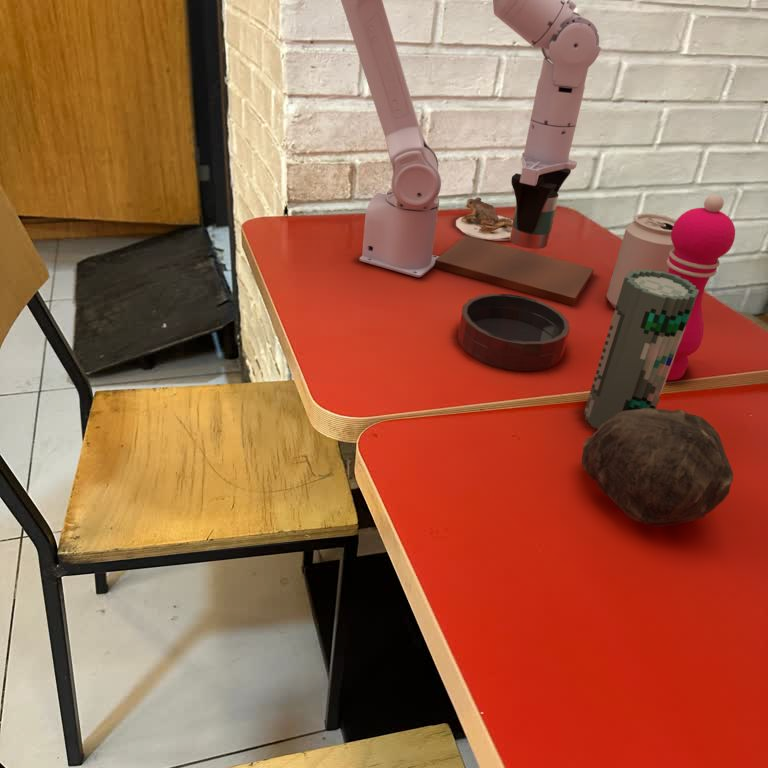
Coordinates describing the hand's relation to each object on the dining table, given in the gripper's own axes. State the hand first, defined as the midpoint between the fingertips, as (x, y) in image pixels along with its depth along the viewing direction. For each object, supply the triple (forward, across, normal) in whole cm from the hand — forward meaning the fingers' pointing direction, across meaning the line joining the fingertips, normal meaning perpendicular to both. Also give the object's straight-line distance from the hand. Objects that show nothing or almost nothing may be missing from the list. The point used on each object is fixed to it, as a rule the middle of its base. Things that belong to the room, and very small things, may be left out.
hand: (531, 225), depth 95 cm
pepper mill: (+7, -16, -21) cm, 27 cm away
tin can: (+2, 0, 0) cm, 2 cm away
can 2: (+7, -30, -19) cm, 36 cm away
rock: (+7, -41, -23) cm, 48 cm away
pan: (+7, -21, -5) cm, 23 cm away
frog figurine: (+7, +15, +10) cm, 19 cm away
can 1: (+7, -1, -16) cm, 18 cm away
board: (+7, 0, +1) cm, 7 cm away
